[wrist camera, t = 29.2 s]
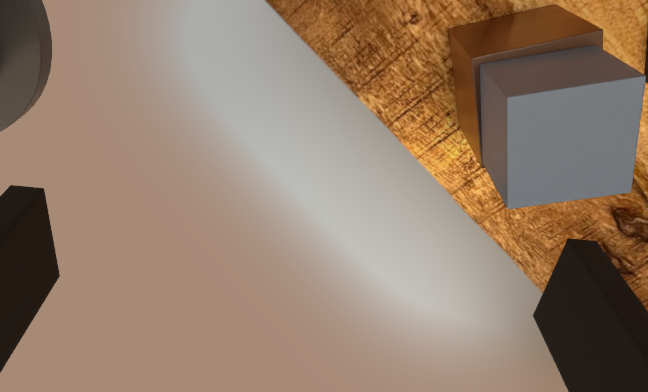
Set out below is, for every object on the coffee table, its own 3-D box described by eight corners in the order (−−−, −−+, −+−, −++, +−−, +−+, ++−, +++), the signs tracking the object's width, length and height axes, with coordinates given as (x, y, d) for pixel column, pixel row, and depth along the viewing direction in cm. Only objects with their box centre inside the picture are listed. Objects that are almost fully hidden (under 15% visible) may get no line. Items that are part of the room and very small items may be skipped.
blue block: (479, 63, 38) (507, 97, 32) (595, 44, 37) (646, 75, 31) (482, 162, 42) (507, 209, 36) (587, 147, 41) (631, 192, 35)
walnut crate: (447, 28, 46) (471, 58, 38) (556, 4, 45) (603, 29, 37) (458, 124, 50) (481, 168, 42) (557, 104, 49) (600, 145, 41)
